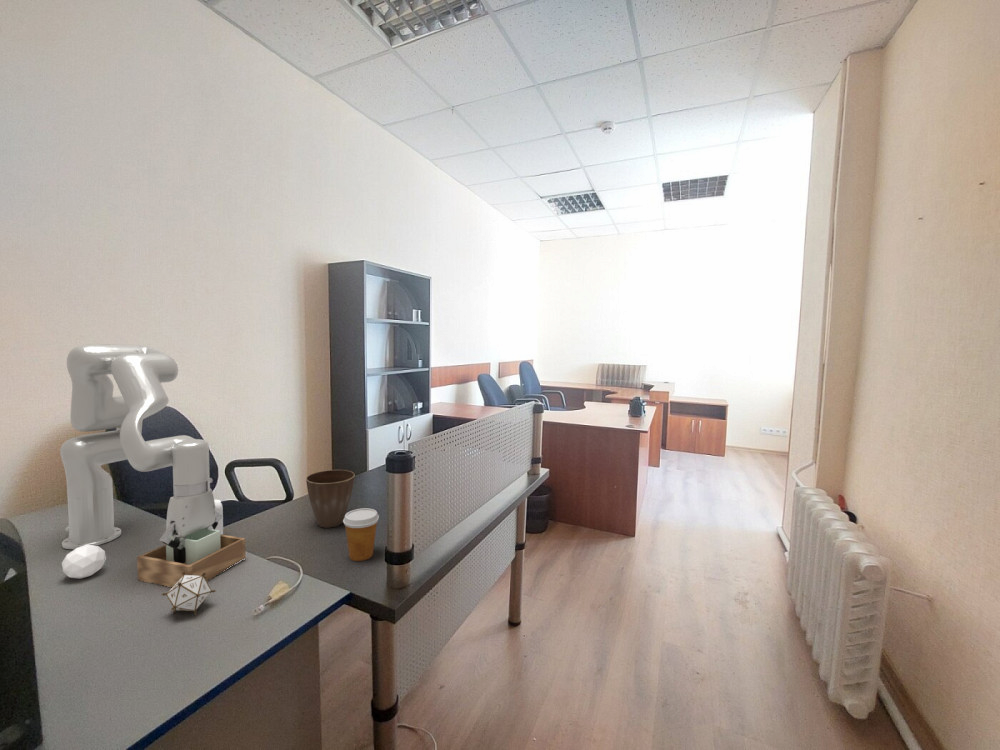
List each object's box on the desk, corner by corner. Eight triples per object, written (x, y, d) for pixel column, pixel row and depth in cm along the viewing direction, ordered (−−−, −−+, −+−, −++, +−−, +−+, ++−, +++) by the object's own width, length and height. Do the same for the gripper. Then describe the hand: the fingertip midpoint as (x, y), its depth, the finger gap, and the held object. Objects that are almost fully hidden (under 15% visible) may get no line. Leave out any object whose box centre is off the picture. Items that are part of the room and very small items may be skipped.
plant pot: (342, 510, 148) (342, 466, 147) (362, 523, 138) (362, 476, 137) (299, 522, 138) (298, 475, 137) (317, 537, 127) (317, 486, 126)
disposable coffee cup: (385, 551, 119) (386, 511, 118) (362, 567, 111) (361, 523, 110) (360, 544, 123) (360, 505, 122) (335, 559, 114) (335, 517, 114)
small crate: (166, 562, 106) (165, 536, 105) (191, 550, 112) (190, 525, 112) (196, 568, 103) (196, 541, 103) (220, 556, 110) (220, 530, 109)
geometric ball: (84, 590, 103) (68, 575, 98) (64, 573, 105) (47, 558, 100) (118, 563, 108) (104, 548, 103) (98, 548, 110) (84, 533, 105)
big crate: (137, 580, 103) (137, 556, 102) (198, 551, 118) (197, 530, 117) (189, 591, 98) (188, 567, 98) (245, 559, 113) (245, 538, 113)
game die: (187, 631, 90) (162, 614, 83) (171, 605, 94) (146, 587, 87) (228, 597, 95) (208, 578, 89) (212, 574, 99) (191, 554, 93)
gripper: (211, 476, 116) (213, 539, 117) (144, 498, 99) (147, 570, 100) (233, 479, 114) (234, 542, 115) (168, 501, 97) (170, 575, 98)
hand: (193, 554), depth 108 cm, fingers closed on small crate, 6 cm apart
